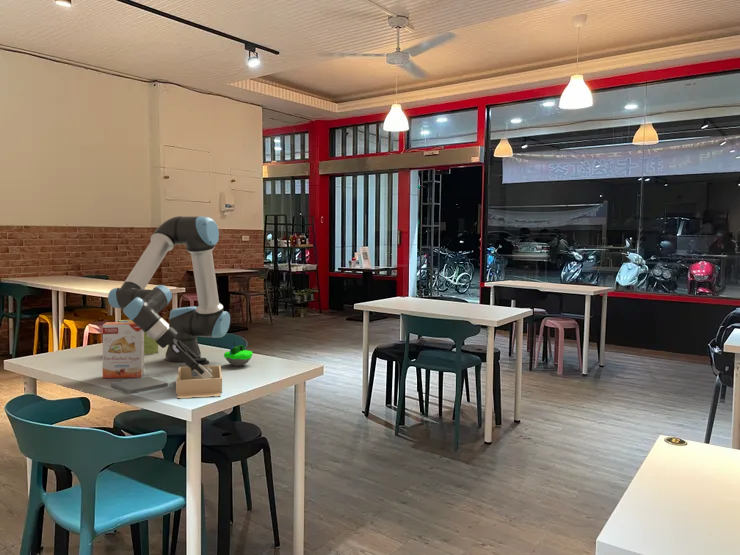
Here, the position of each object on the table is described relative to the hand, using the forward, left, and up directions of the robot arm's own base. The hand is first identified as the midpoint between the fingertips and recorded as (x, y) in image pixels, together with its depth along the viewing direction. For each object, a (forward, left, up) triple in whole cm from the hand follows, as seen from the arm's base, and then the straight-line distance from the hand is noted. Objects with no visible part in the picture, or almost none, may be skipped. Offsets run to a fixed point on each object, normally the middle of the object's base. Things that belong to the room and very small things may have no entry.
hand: (209, 376), depth 202 cm
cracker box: (+15, -35, -4) cm, 38 cm away
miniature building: (-28, -20, -4) cm, 35 cm away
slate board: (+18, -17, -3) cm, 25 cm away
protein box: (-11, -73, -4) cm, 74 cm away
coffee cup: (+3, -2, -4) cm, 5 cm away
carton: (+3, -2, -3) cm, 5 cm away
